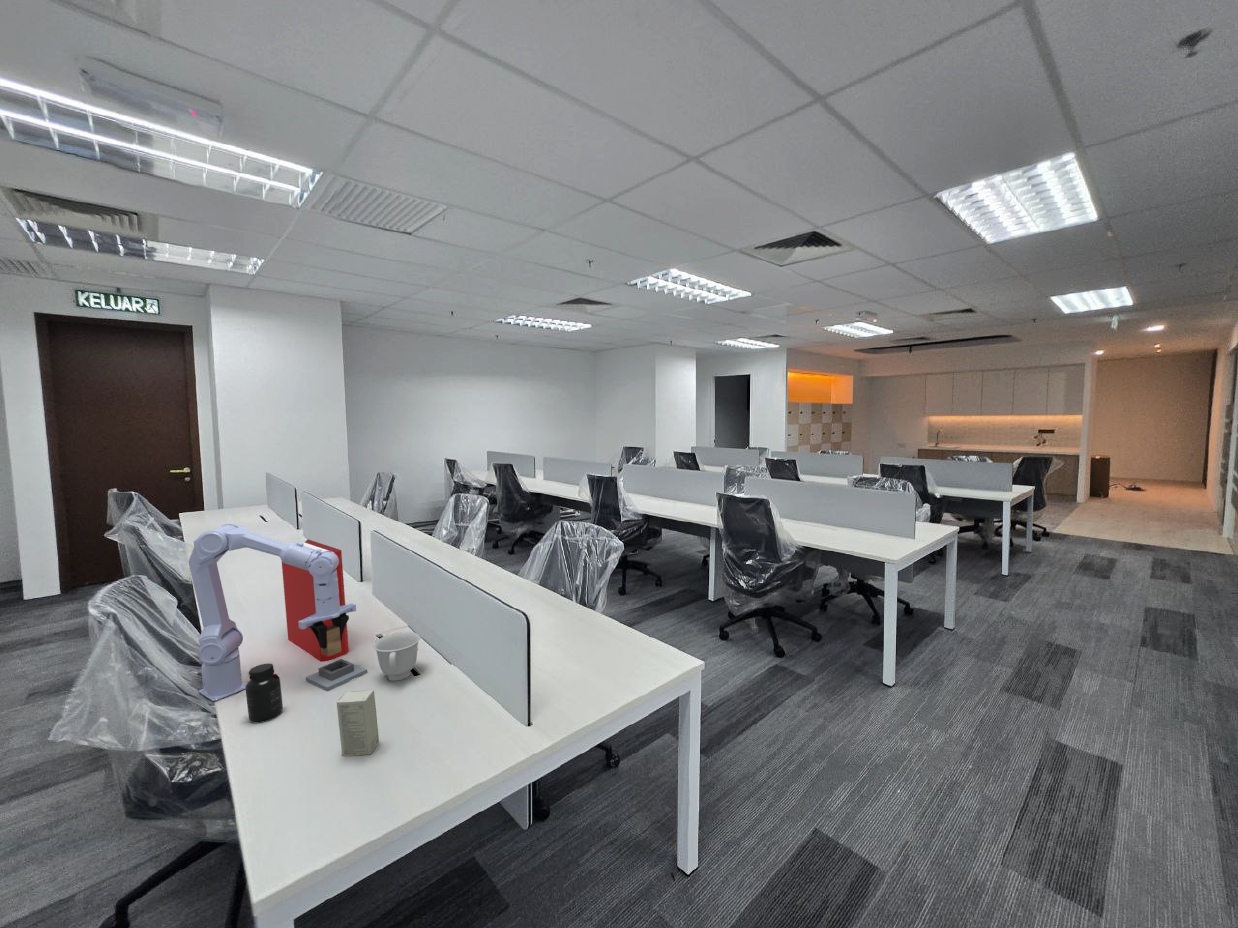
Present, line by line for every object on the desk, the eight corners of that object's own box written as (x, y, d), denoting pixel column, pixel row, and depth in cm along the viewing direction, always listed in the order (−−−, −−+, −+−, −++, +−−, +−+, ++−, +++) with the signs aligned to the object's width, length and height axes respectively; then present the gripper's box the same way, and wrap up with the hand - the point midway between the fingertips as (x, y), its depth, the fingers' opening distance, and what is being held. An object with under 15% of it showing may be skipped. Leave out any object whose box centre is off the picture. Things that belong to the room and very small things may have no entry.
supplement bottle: (277, 703, 125) (273, 658, 124) (287, 713, 121) (283, 666, 120) (244, 716, 120) (240, 669, 119) (253, 727, 116) (248, 677, 115)
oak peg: (321, 653, 137) (319, 629, 136) (334, 648, 140) (332, 624, 139) (328, 656, 135) (326, 631, 135) (341, 651, 138) (339, 627, 138)
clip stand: (305, 680, 137) (304, 670, 136) (345, 663, 146) (344, 653, 146) (327, 691, 131) (326, 680, 131) (367, 672, 140) (366, 662, 140)
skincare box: (379, 742, 109) (376, 689, 108) (370, 755, 105) (366, 700, 104) (350, 743, 109) (346, 690, 108) (339, 756, 105) (335, 701, 103)
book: (288, 639, 164) (280, 544, 161) (314, 631, 170) (307, 539, 167) (322, 662, 147) (314, 556, 144) (350, 652, 153) (343, 550, 150)
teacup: (368, 695, 128) (365, 658, 127) (379, 668, 142) (377, 634, 142) (418, 688, 131) (416, 651, 130) (424, 662, 146) (422, 629, 145)
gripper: (306, 608, 128) (311, 658, 129) (360, 590, 140) (364, 637, 142) (292, 603, 132) (297, 652, 133) (346, 587, 144) (350, 632, 145)
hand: (330, 644), depth 137 cm, fingers closed on oak peg, 3 cm apart
